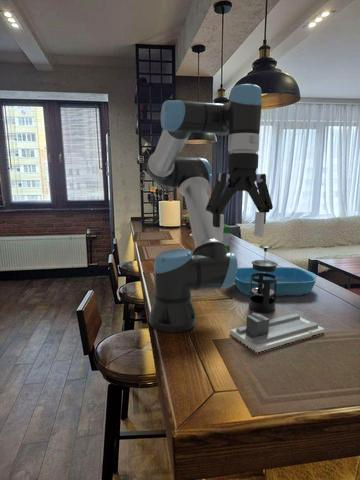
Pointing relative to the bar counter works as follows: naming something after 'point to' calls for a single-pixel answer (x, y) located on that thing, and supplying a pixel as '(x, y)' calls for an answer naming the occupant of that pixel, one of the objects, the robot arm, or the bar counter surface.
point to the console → (278, 332)
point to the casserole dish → (278, 280)
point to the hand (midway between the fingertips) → (239, 238)
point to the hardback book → (226, 237)
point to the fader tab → (257, 325)
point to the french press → (263, 286)
